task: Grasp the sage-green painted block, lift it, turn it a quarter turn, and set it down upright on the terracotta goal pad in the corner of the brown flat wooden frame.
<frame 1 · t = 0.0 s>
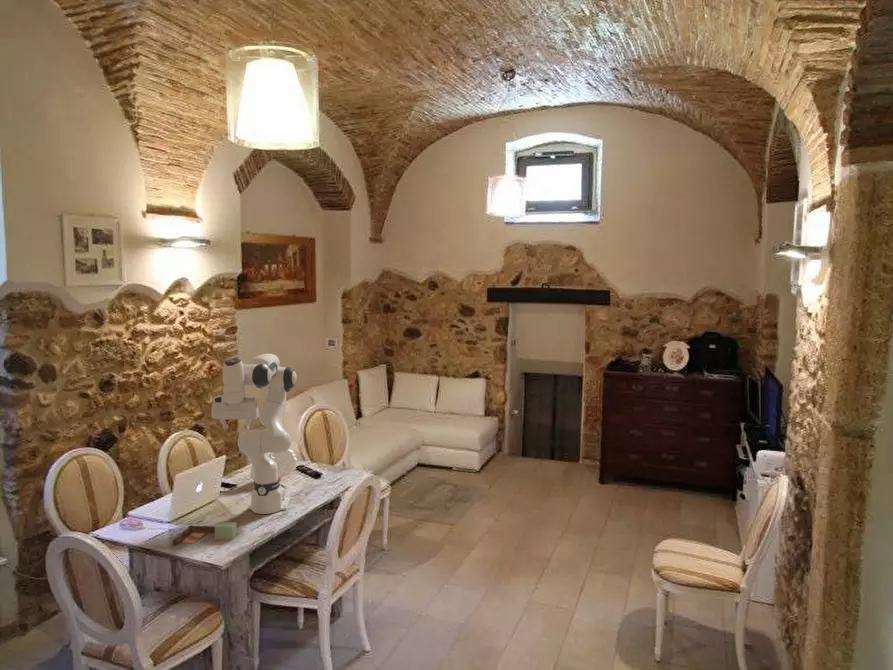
hand: (236, 428, 279), 48 cm above the table, fingers open, 8 cm apart
brown flat wooden frame: (193, 538, 282), on the table
sage block: (226, 537, 283), on the table
medicine box: (289, 469, 375), on the table
decorative rooster: (273, 484, 350), on the table
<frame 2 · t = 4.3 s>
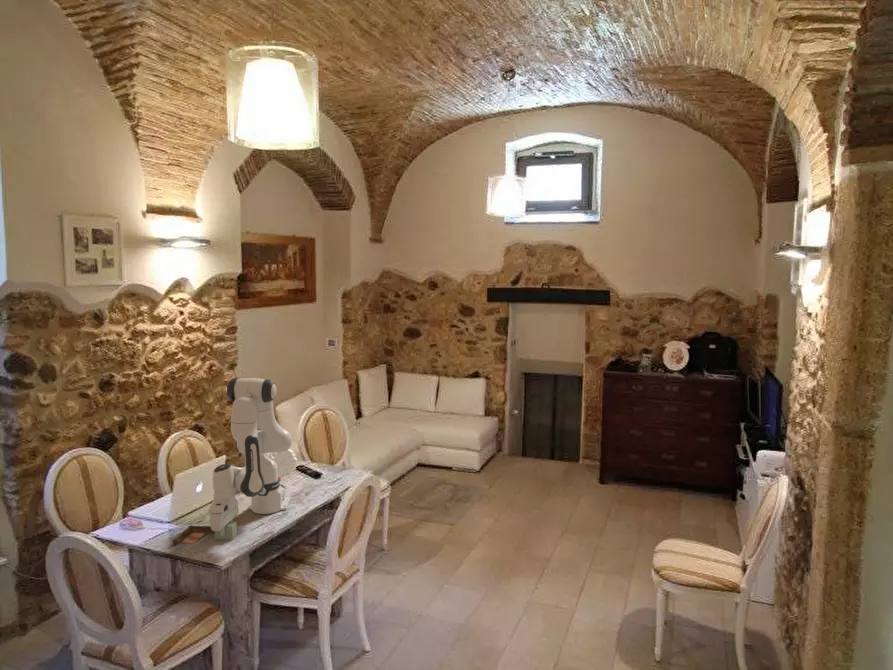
hand: (226, 532, 282), 2 cm above the table, fingers closed on sage block, 4 cm apart
sage block: (226, 537, 283), on the table, touching gripper
everything else where it was.
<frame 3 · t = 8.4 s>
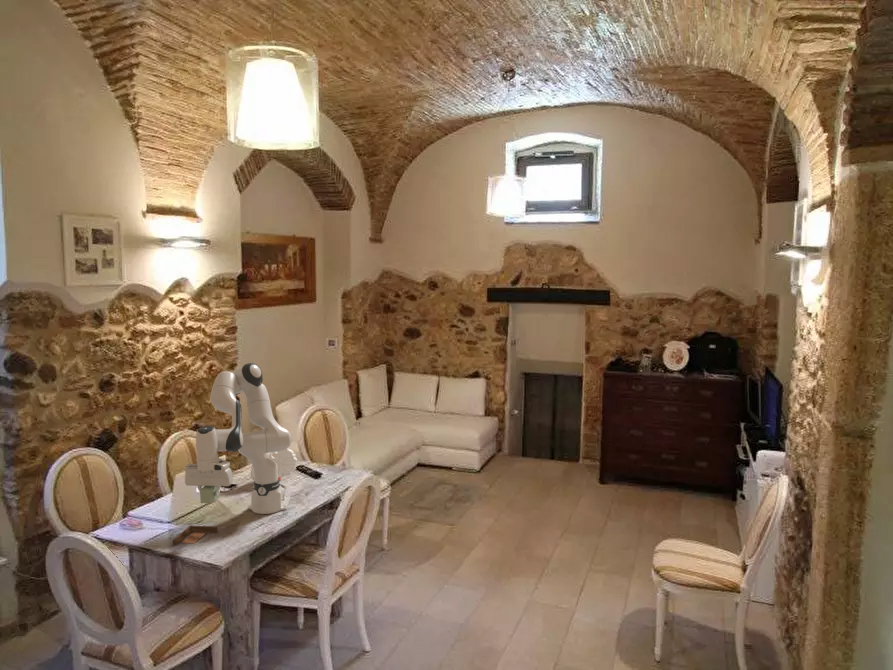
hand: (209, 495, 280), 19 cm above the table, fingers closed on sage block, 4 cm apart
sage block: (209, 499, 280), point 17 cm above the table, touching gripper
everything else where it was.
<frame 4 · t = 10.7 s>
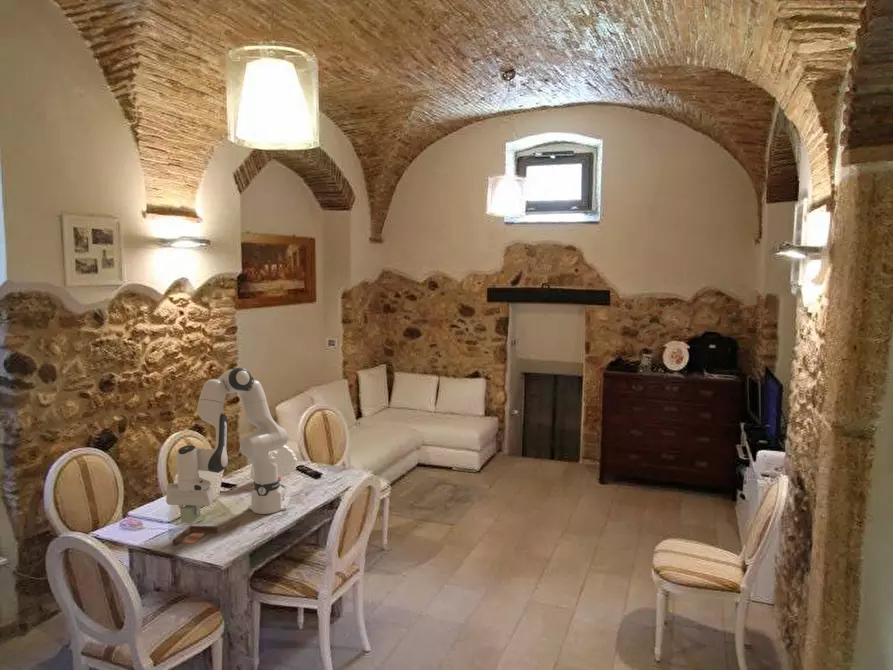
hand: (190, 514, 282), 10 cm above the table, fingers closed on sage block, 4 cm apart
sage block: (190, 519, 282), point 8 cm above the table, touching gripper
everything else where it was.
when the fingers open (4 cm above the table, at t = 12.8 s): sage block drops 1 cm, resting on brown flat wooden frame.
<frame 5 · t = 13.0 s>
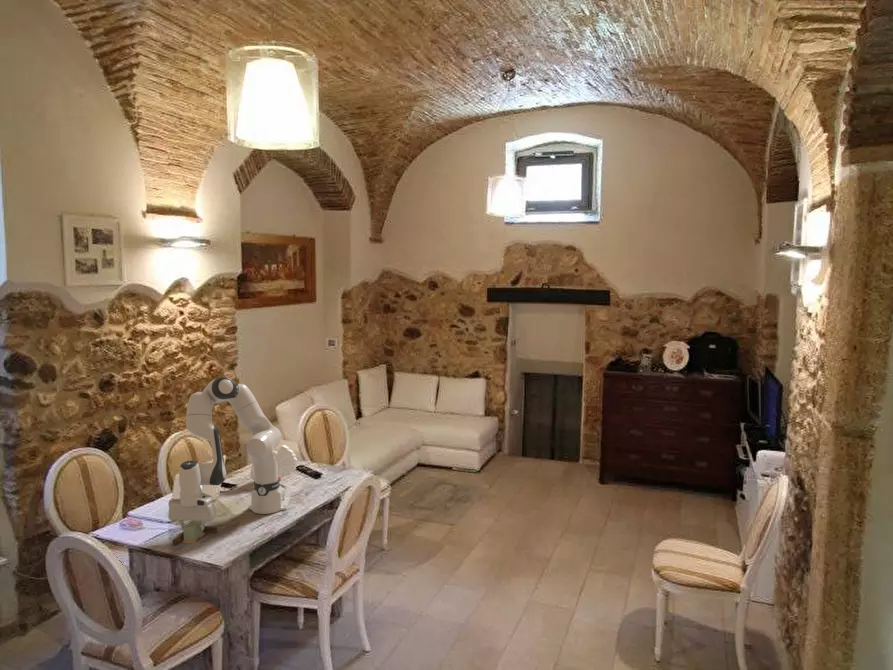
hand: (193, 529, 282), 4 cm above the table, fingers open, 7 cm apart
sage block: (193, 537, 282), resting on brown flat wooden frame
everything else where it was.
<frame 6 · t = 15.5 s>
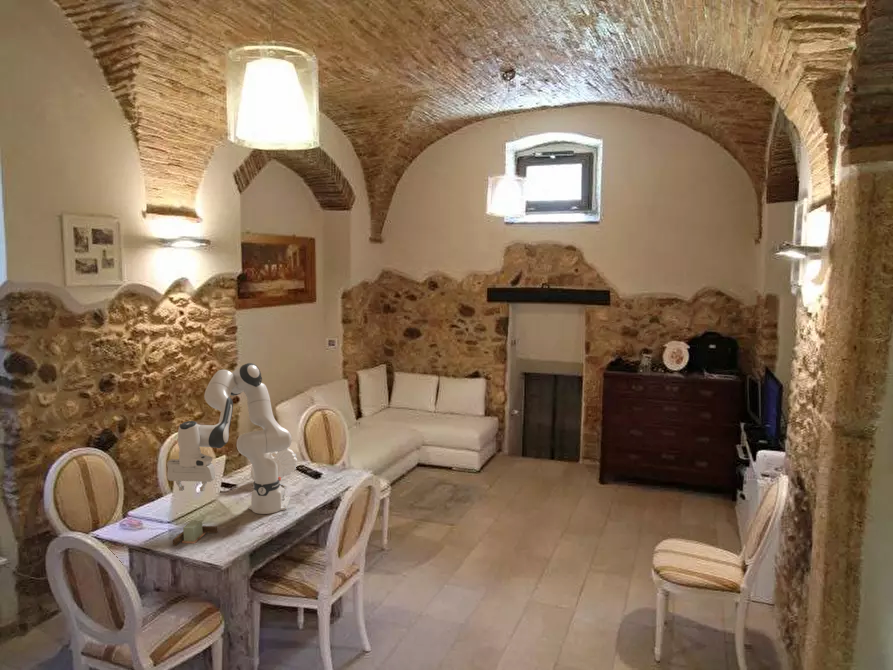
hand: (192, 490, 280), 21 cm above the table, fingers open, 8 cm apart
nothing on the table moved.
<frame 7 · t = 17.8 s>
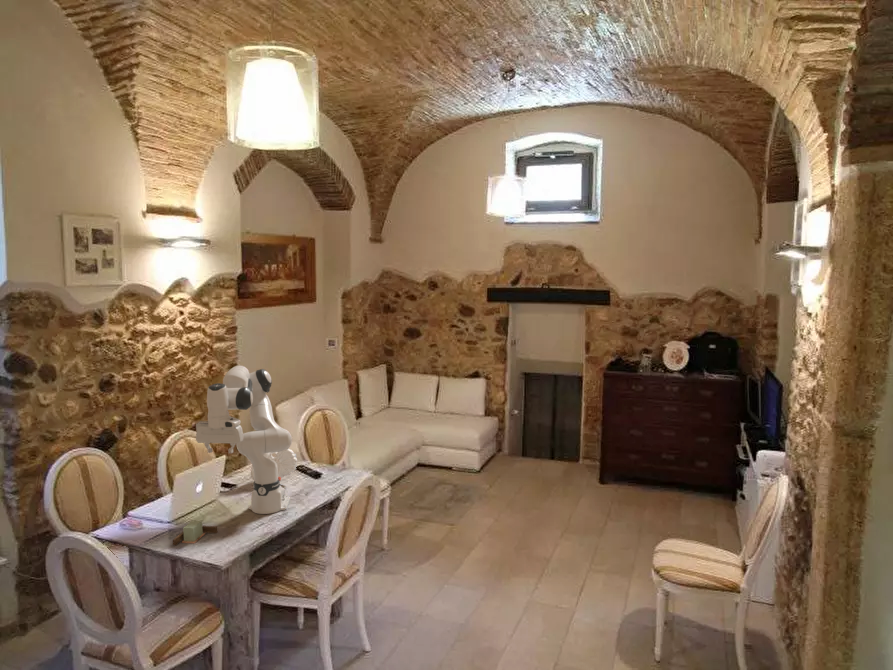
hand: (220, 452, 282), 37 cm above the table, fingers open, 8 cm apart
nothing on the table moved.
at the end: sage block 0.0 cm off-centre on the brown flat wooden frame, point 0.3 cm above the brown flat wooden frame's base; sage block tilted 0°; the gripper is holding nothing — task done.
